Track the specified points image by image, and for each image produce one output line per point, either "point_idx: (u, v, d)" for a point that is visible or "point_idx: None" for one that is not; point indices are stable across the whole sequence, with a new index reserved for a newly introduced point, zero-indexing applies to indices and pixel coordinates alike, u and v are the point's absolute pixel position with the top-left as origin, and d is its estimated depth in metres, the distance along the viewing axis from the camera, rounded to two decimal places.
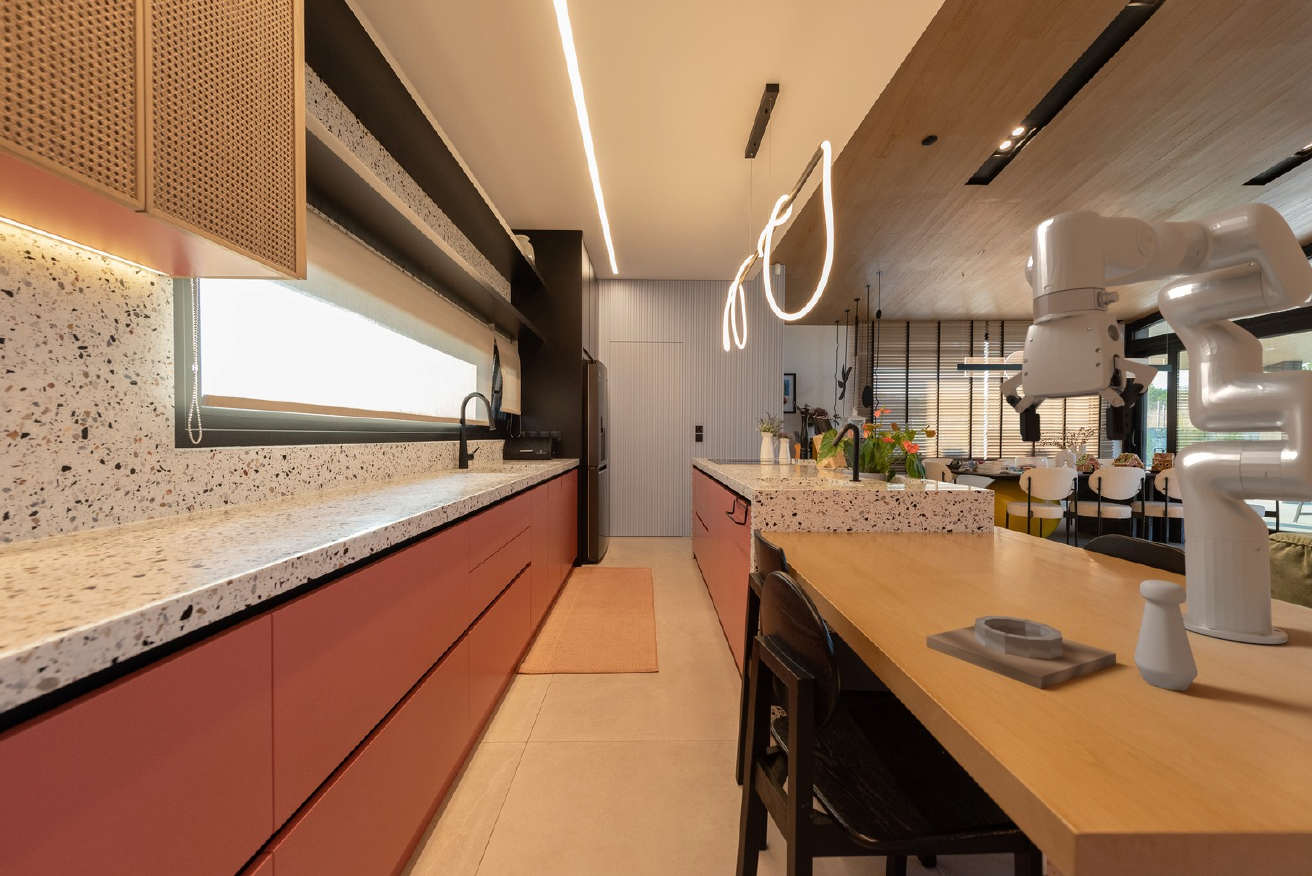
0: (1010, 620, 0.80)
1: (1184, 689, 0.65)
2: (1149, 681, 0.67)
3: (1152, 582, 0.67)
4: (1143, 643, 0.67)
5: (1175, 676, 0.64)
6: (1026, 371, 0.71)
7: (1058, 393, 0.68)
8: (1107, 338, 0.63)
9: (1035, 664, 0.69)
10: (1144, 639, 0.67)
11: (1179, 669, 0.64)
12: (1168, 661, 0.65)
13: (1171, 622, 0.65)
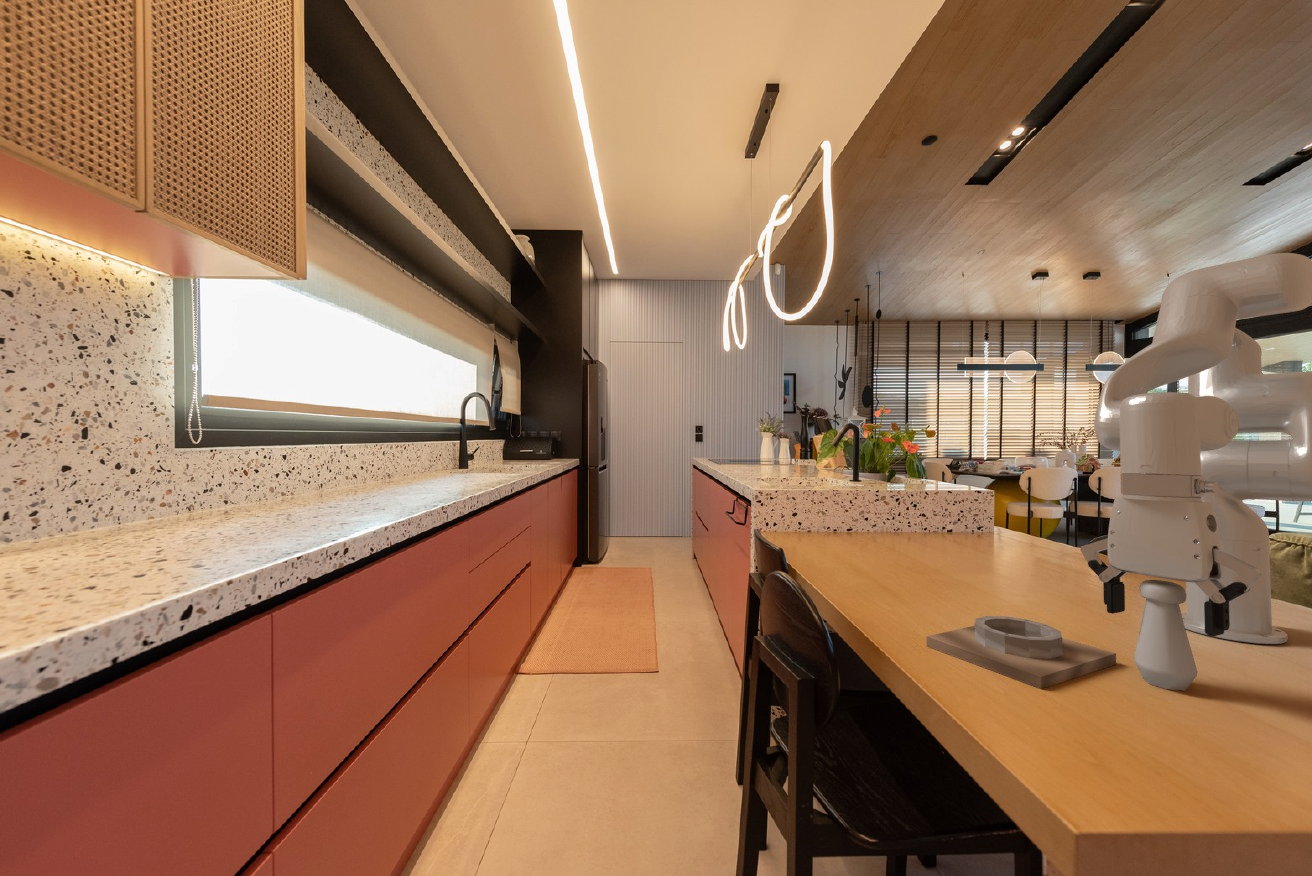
0: (1010, 620, 0.80)
1: (1184, 689, 0.65)
2: (1149, 681, 0.67)
3: (1152, 582, 0.67)
4: (1143, 643, 0.67)
5: (1175, 676, 0.64)
6: (1112, 543, 0.70)
7: (1149, 574, 0.66)
8: (1206, 530, 0.62)
9: (1035, 664, 0.69)
10: (1144, 639, 0.67)
11: (1179, 668, 0.64)
12: (1167, 661, 0.65)
13: (1171, 622, 0.65)
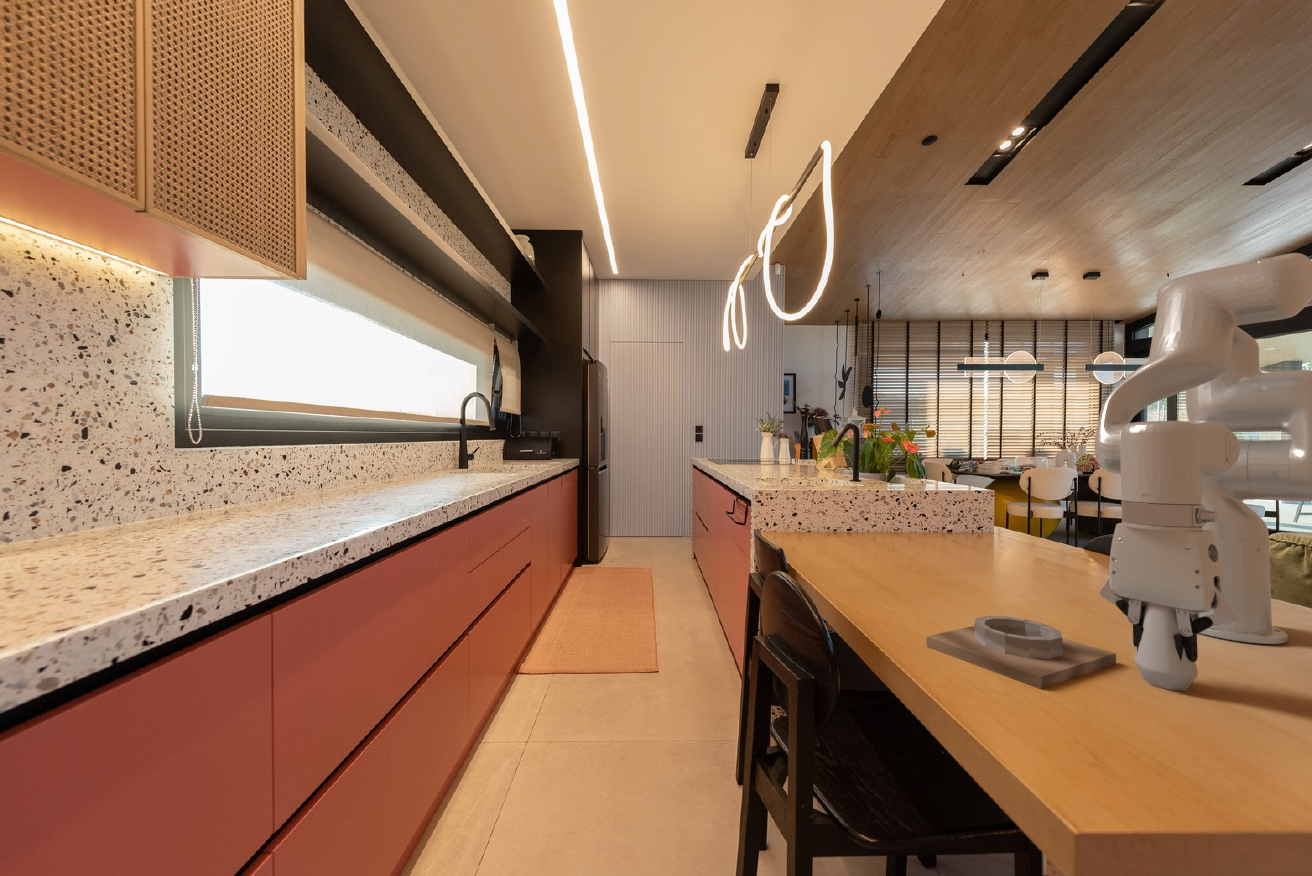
0: (1010, 620, 0.80)
1: (1184, 689, 0.65)
2: (1149, 681, 0.67)
3: None
4: (1143, 643, 0.67)
5: (1176, 676, 0.64)
6: (1114, 570, 0.70)
7: (1151, 602, 0.67)
8: (1207, 560, 0.62)
9: (1035, 664, 0.69)
10: (1144, 639, 0.67)
11: (1179, 669, 0.64)
12: (1168, 661, 0.65)
13: (1171, 622, 0.65)
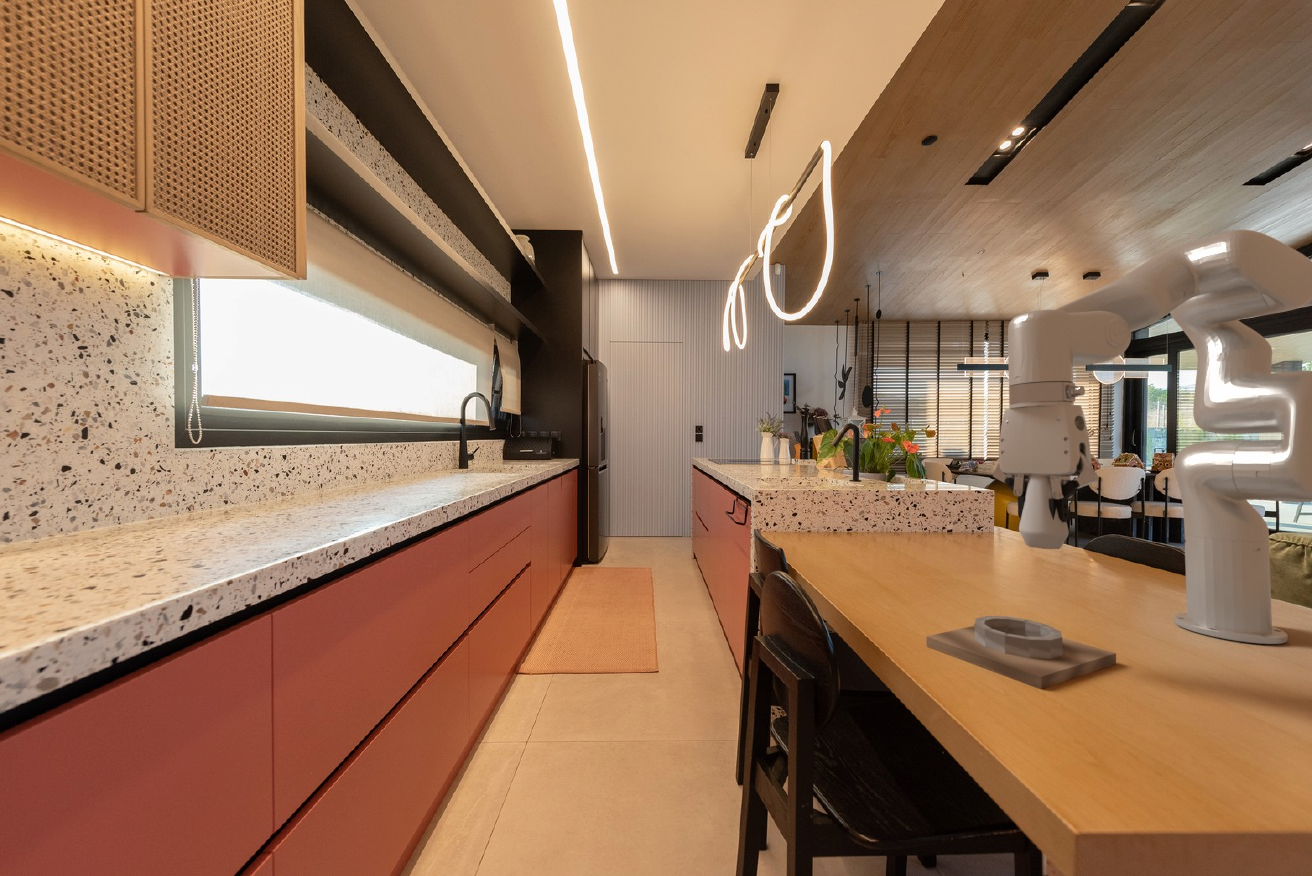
0: (1010, 620, 0.80)
1: (1057, 547, 0.73)
2: (1029, 544, 0.74)
3: None
4: (1025, 511, 0.75)
5: (1049, 534, 0.72)
6: (1002, 450, 0.78)
7: (1031, 473, 0.75)
8: (1074, 428, 0.70)
9: (1035, 664, 0.69)
10: (1025, 507, 0.75)
11: (1052, 528, 0.72)
12: (1043, 522, 0.73)
13: (1047, 489, 0.73)
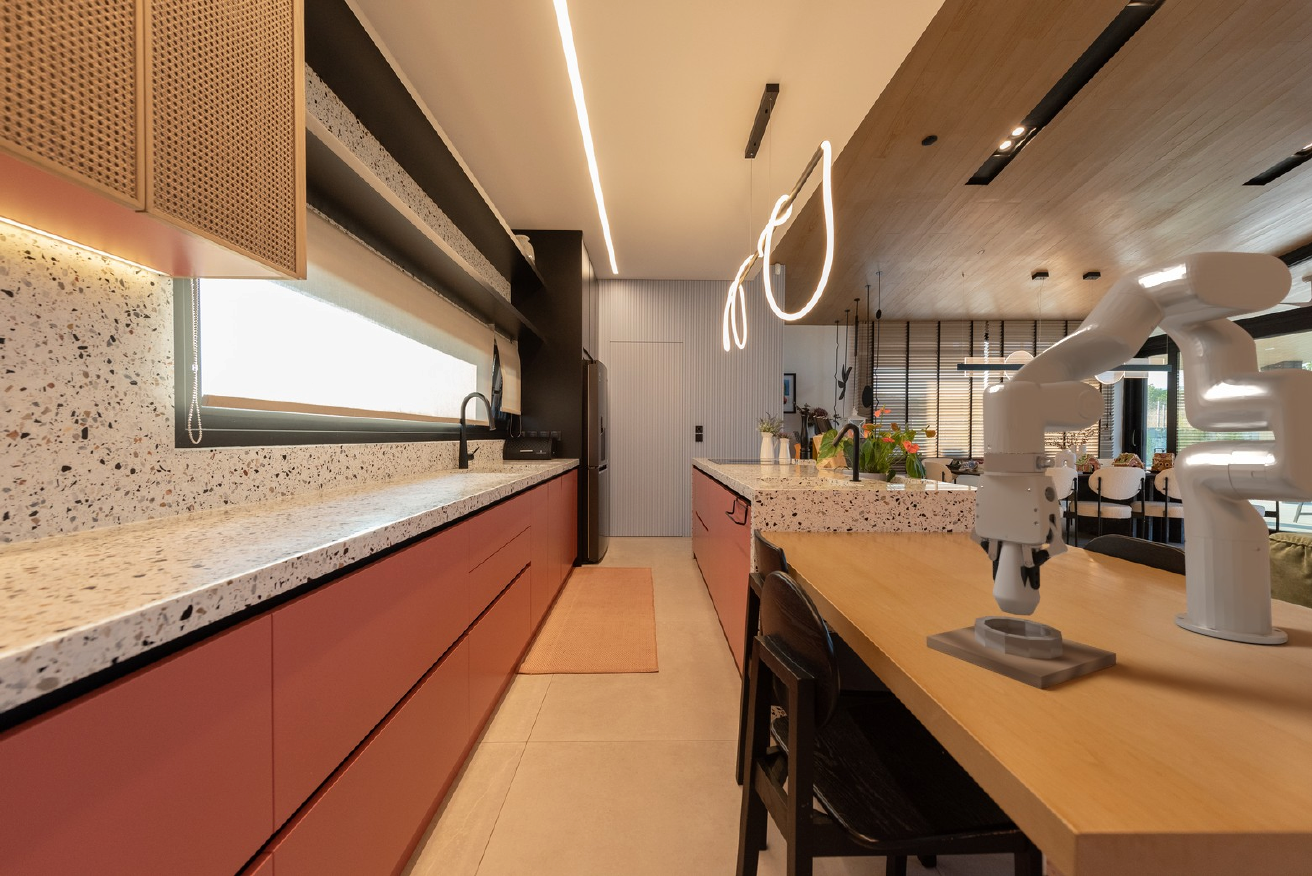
0: (1010, 620, 0.80)
1: (1028, 614, 0.74)
2: (1002, 609, 0.76)
3: None
4: (998, 576, 0.77)
5: (1020, 602, 0.74)
6: (977, 514, 0.80)
7: (1004, 540, 0.76)
8: (1044, 500, 0.72)
9: (1035, 664, 0.69)
10: (998, 572, 0.77)
11: (1023, 595, 0.74)
12: (1014, 589, 0.74)
13: (1018, 556, 0.75)
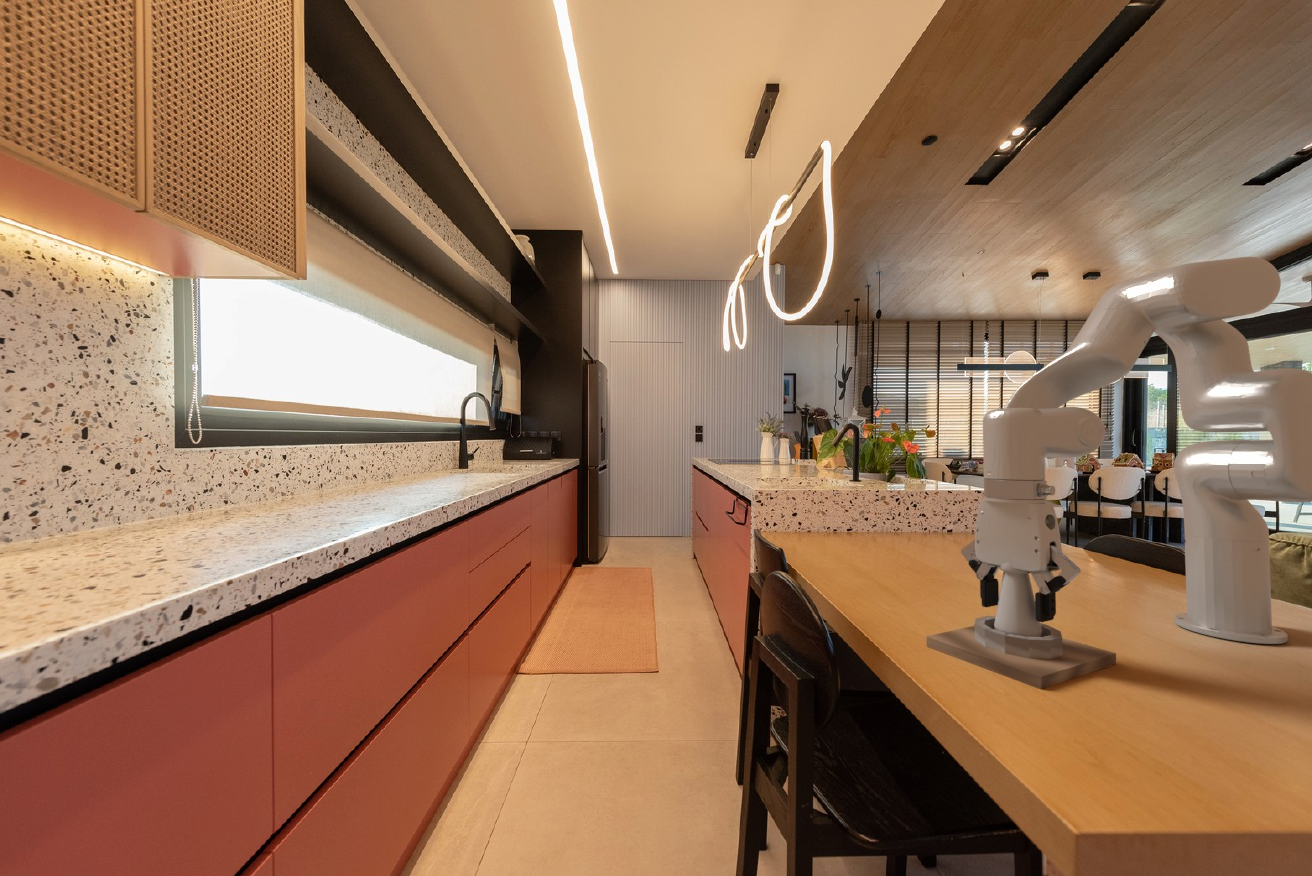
0: None
1: None
2: None
3: None
4: (999, 609, 0.77)
5: None
6: (978, 539, 0.80)
7: None
8: (1044, 528, 0.72)
9: (1035, 664, 0.69)
10: (1000, 605, 0.77)
11: (1024, 630, 0.74)
12: (1016, 623, 0.74)
13: (1020, 589, 0.75)
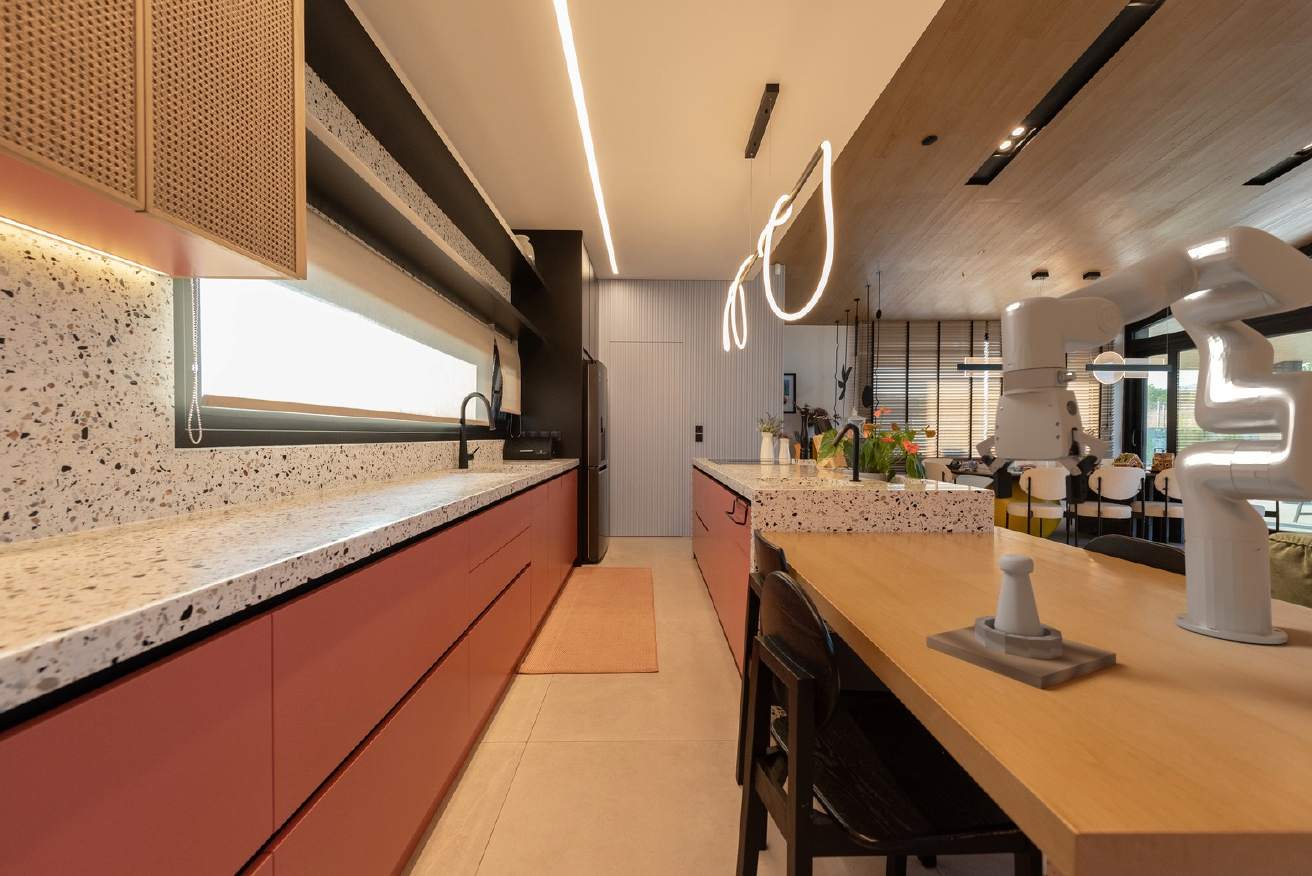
0: None
1: None
2: None
3: (1007, 555, 0.77)
4: (999, 609, 0.77)
5: None
6: (997, 436, 0.79)
7: (1025, 458, 0.76)
8: (1066, 413, 0.71)
9: (1035, 664, 0.69)
10: (1000, 605, 0.77)
11: (1024, 629, 0.74)
12: (1016, 623, 0.74)
13: (1020, 589, 0.75)
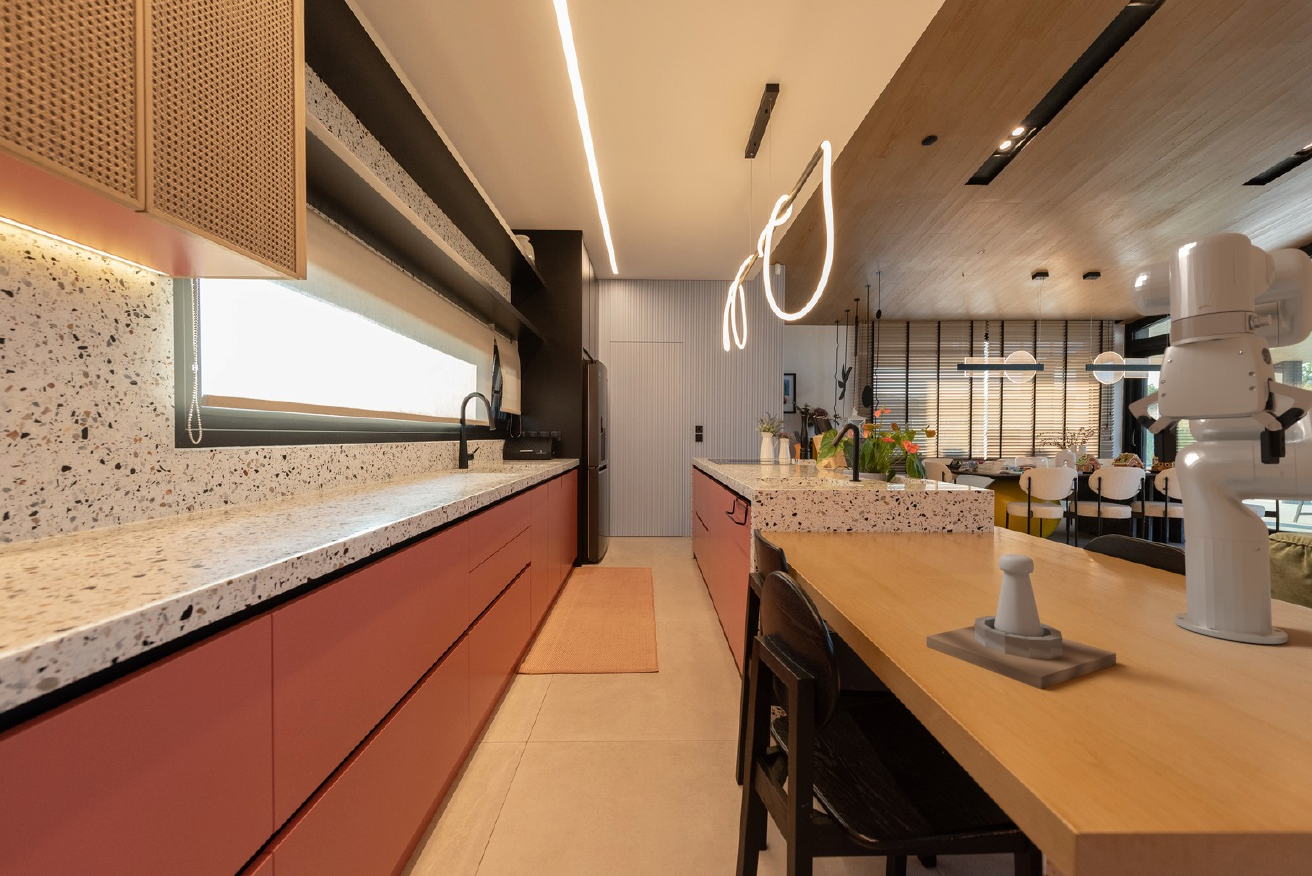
0: None
1: None
2: None
3: (1007, 555, 0.77)
4: (999, 609, 0.77)
5: None
6: (1163, 392, 0.71)
7: (1202, 415, 0.68)
8: (1261, 362, 0.63)
9: (1035, 664, 0.69)
10: (1000, 605, 0.77)
11: (1024, 630, 0.74)
12: (1016, 623, 0.74)
13: (1020, 589, 0.75)
